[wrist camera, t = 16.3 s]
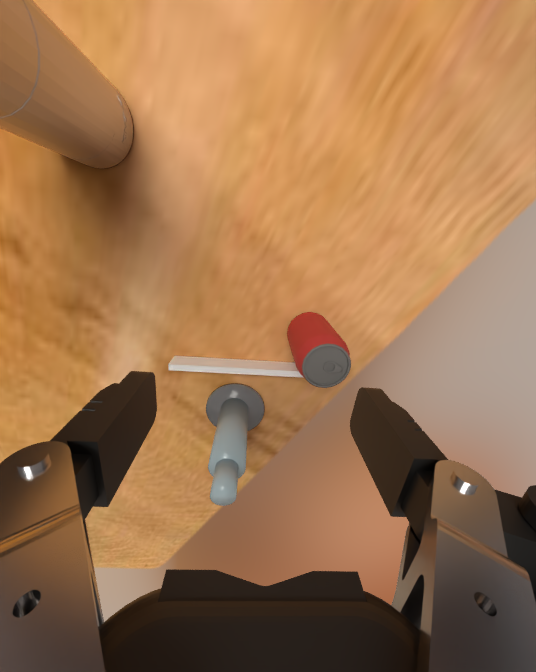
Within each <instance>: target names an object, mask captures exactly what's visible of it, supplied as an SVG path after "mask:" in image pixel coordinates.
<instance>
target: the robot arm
mask: <svg viewBox="0 0 536 672" xmlns="http://www.w3.org/2000/svg"><path fill="white" fill-rule="evenodd" d="M0 128H1V129H3V130H6V131H8V132H10V133H13V134H15V135H17V136H20V137H22V138H24V139H27V140H29V141H31V142H34V143H36V144H38V145H41V146H43V147H45V148H48V149H50V150H52V151H55V152H57V153H59V154H62V155H64V156H66V157H68V158H71V159H73V160H75V161H78V162H80V163H82V164H85V165H88V166H91V167H93V168H110V167H112V166H115V165H117V164H118V163H120V162H121V161H122V160H123V159H124V158H125V157H126V155H127V154H128V152H129V150H130V147H131V145H132V140H133V123H132V117H131V114H130V111H129V108H128V106H127V104H126V102H125V100H124V99H123V97H122V96H121V94H120V93H119V92H118V90H117V89H116V88H115V87H114V86H113V85H112V84H111V83H110V82H109V80H108V79H107V78H106V77H105V76H104V75H103V74H102V73H101V72H100V71H99V70H98V69H97V68H96V67H95V66H94V64H93V63H92V62H91V61H90V60H89V59H88V58H87V57H86V56H85V55H84V54H83V53H82V52H81V51H80V50H79V49H78V48H77V47H76V46H75V44H74V43H73V42H72V41H71V40H70V39H69V38H68V37H67V36H66V35H65V34H64V33H63V32H62V31H61V30H60V29H59V28H58V27H57V26H56V24H55V23H54V22H53V21H52V20H51V19H50V18H49V17H48V16H47V15H46V14H45V13H44V12H43V11H42V10H41V9H40V8H39V7H38V6H37V4H36V3H35V2H34V1H33V0H0ZM156 411H157V403H156V385H155V375H154V373H152V372H139V371H131V372H130V373H129V374H128V375H127V376H126V377H125V378H124V379H123V380H122V381H121V382H120V383H119V384H116V383H114V384H112V385H110V386H108V387H106V388H105V389H103V390H101V391H100V392H99V393H98V394H97V395H96V396H95V397H94V398H93V399H91V400H90V403H89V402H88V403H87V404H86V405H85V406H84V407H83V408H82V411H79V412H78V413H77V414H76V415H75V416H74V417H73V418H72V419H71V420H70V421H69V422H68V423H67V424H66V425H65V426H64V427H63V428H62V429H61V430H60V431H59V432H58V433H57V434H56V435H55V436H54V437H53V438H52V439H51V440H50V441H48V442H41V443H37V444H34V445H31V446H28V447H26V448H23V449H21V450H19V451H17V452H15V453H14V454H12V455H11V456H9V457H8V458H6V459H5V460H4V461H3V462H2V463H1V464H0V672H536V485H535V486H530V487H529V488H528V489H527V491H526V492H525V494H524V496H523V497H522V498H521V497H518V496H514V495H511V494H508V493H504V492H501V491H498V490H494V488H493V487H492V486H491V484H490V483H489V482H488V481H487V480H486V479H485V478H484V477H482V476H481V475H480V474H479V473H477V472H476V471H475V470H473V469H471V468H469V467H468V466H466V465H464V464H461V463H459V462H455V461H451V460H448V459H447V458H446V457H445V456H444V454H443V453H442V452H441V451H440V450H439V449H438V447H437V446H436V445H435V444H434V443H433V442H432V440H431V439H430V438H429V437H428V436H427V435H426V434H425V432H424V431H422V429H421V428H420V426H419V425H418V424H417V423H415V422H414V419H413V418H412V417H411V416H410V415H409V414H408V412H407V411H406V410H404V409H403V408H401V407H400V406H399V405H397V404H396V403H394V402H392V401H391V400H390V399H389V398H388V396H387V395H386V394H385V393H384V392H383V390H381V389H376V388H360V389H359V391H358V394H357V397H356V401H355V405H354V409H353V412H352V416H351V420H350V429H351V434H352V436H353V438H354V441H355V442H356V445H357V446H358V449H359V451H360V453H361V455H362V457H363V459H364V461H365V463H366V466H367V468H368V470H369V472H370V474H371V476H372V478H373V480H374V482H375V484H376V486H377V488H378V490H379V492H380V495H381V496H382V498H383V501H384V503H385V505H386V507H387V509H388V511H389V513H390V515H391V516H393V517H407V519H408V521H409V526H408V528H407V531H406V536H405V542H404V548H403V553H402V559H401V565H400V571H399V577H398V582H397V587H396V592H395V596H394V599H393V602H392V605H389V604H388V603H386V602H385V601H383V600H382V599H380V598H378V597H376V596H374V595H372V594H370V593H368V592H365V591H363V588H362V585H361V581H360V578H359V575H358V572H337V571H336V572H335V571H312V572H309V573H306V574H303V575H300V576H297V577H294V578H291V579H288V580H285V581H282V582H279V583H276V584H273V585H270V586H260V585H257V584H254V583H251V582H249V581H246V580H243V579H240V578H237V577H234V576H231V575H228V574H225V573H222V572H220V571H217V570H166V574H165V577H164V581H163V585H162V588H161V589H158V590H155V591H152V592H150V593H148V594H146V595H143V596H141V597H139V598H137V599H136V600H134V601H132V602H131V603H129V604H127V605H126V606H124V607H123V608H122V609H120V610H119V611H118V612H116V613H115V614H114V615H112V616H111V617H110V618H109V619H108V620H107V621H105V622H104V619H103V614H102V609H101V604H100V599H99V593H98V588H97V583H96V577H95V571H94V566H93V560H92V554H91V549H90V543H89V537H88V532H87V526H86V521H85V518H86V517H87V515H88V513H89V512H90V510H91V508H92V507H93V506H95V507H108V506H109V504H110V502H111V500H112V499H113V497H114V495H115V493H116V491H117V489H118V488H119V486H120V484H121V482H122V480H123V478H124V476H125V475H126V473H127V471H128V469H129V467H130V465H131V464H132V462H133V460H134V458H135V456H136V454H137V453H138V451H139V449H140V447H141V445H142V443H143V442H144V440H145V438H146V436H147V434H148V432H149V431H150V429H151V427H152V425H153V423H154V420H155V417H156Z"/></svg>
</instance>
